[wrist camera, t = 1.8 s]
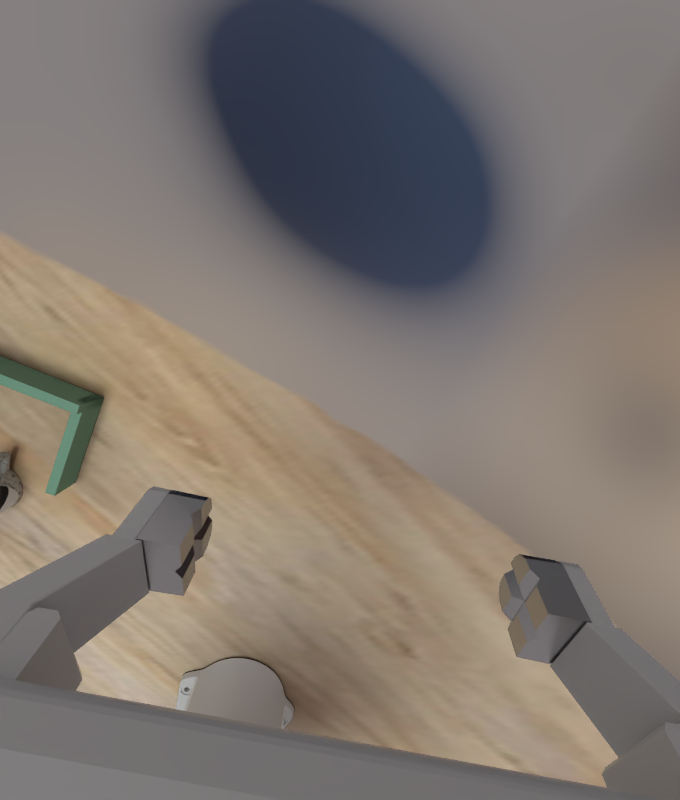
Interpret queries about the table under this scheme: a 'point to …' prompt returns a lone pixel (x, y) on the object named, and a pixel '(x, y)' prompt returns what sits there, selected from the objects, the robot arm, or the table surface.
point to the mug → (8, 483)
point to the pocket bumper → (67, 398)
